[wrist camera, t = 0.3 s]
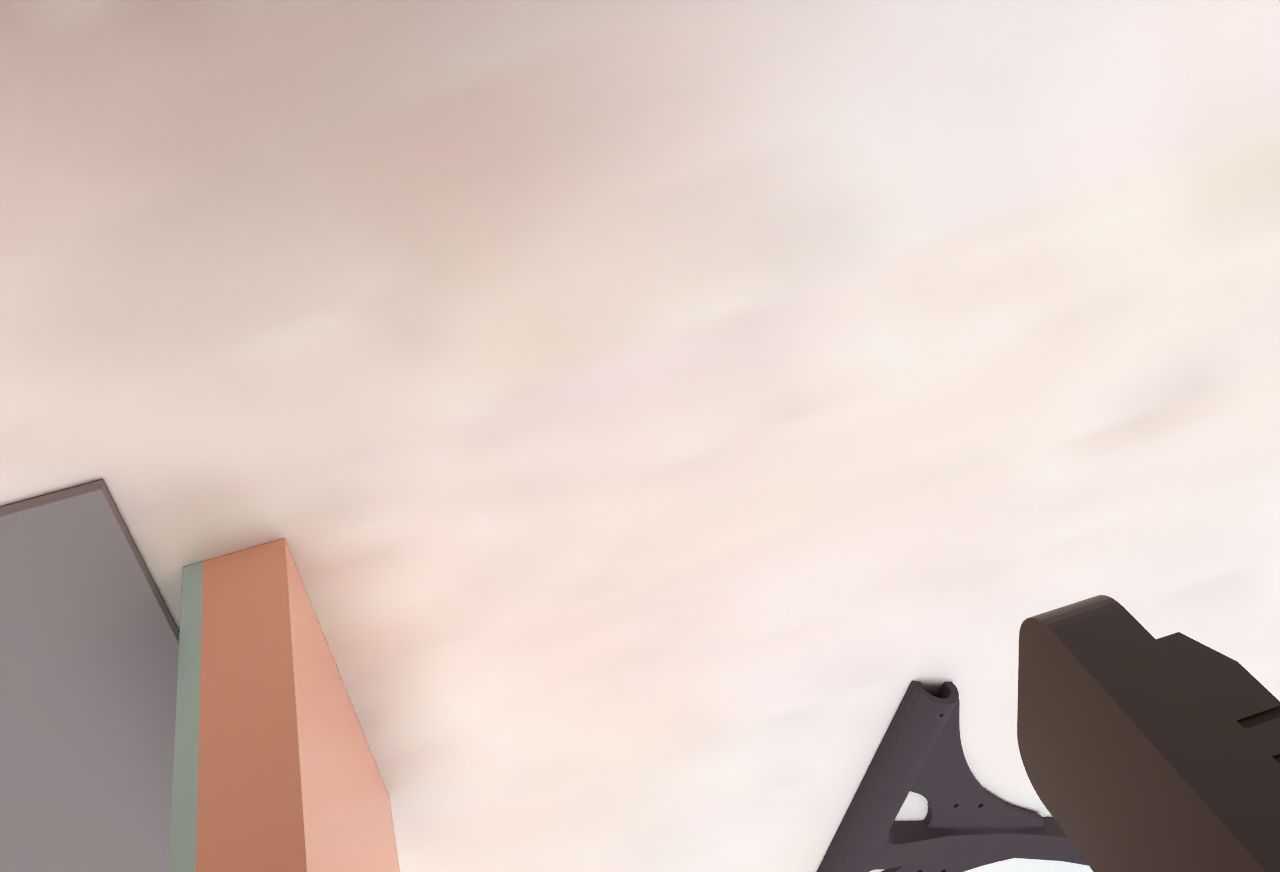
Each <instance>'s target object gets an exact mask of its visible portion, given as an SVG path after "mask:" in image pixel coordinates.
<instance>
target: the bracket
mask: <svg viewBox="0 0 1280 872" xmlns="http://www.w3.org/2000/svg"><path fill="white" fill-rule="evenodd" d="M958 697H959V694H958V690H957V688H956V686H955V685H954V684H953V683H952V682H944V684H943V685H942V687H941V689H940V691H939V693H938V695H937V697H935V696H933V695H931V694H929V693H928V692H927V691H926V690H925V689H924V688H923V687H922V685H921V682H918V681H912V682H911V684H910V686H909V688H908V690H907V692H906V694H905V696H904V698H903V700H902V702H901V704H900V706H899V708H898V710H897V712H896V714H895V716H894V718H893V720H892V722H891V724H890V726H889V728H888V730H887V732H886V734H885V736H884V738H883V740H882V742H881V744H880V746H879V748H878V750H877V752H876V754H875V756H874V758H873V760H872V762H871V764H870V766H869V768H868V770H867V772H866V774H865V776H864V778H863V780H862V782H861V784H860V786H859V788H858V790H857V792H856V795H855V797H854V799H853V801H852V803H851V805H850V807H849V809H848V811H847V813H846V815H845V817H844V819H843V821H842V823H841V825H840V827H839V829H838V831H837V833H836V835H835V837H834V839H833V841H832V843H831V845H830V847H829V849H828V851H827V853H826V855H825V857H824V859H823V861H822V863H821V865H820V867H819V869H818V871H817V872H869V871H871V870H875V869H885V870H884V871H882V872H964V871H967V870H970V869H973V868H976V867H979V866H983V865H986V864H990V863H994V862H998V861H1003V860H1007V859H1012V858H1026V859H1041V860H1056V861H1065V862H1071V863H1077V864H1083V865H1088V863H1087V862H1086V861H1085V859H1084V858H1083V857H1082V855H1081V854H1080V853H1079V851H1078V850H1077V849H1076V847H1075V846H1074V845H1073V843H1072V842H1071V840H1070V839H1069V838H1068V836H1067V835H1066V834H1065V832H1064V831H1063V830H1062V828H1061V827H1060V826H1059V824H1058V823H1057V822H1056V820H1055V819H1054V817H1041V815H1039V814H1036V813H1033V812H1030V811H1027V810H1024V809H1021V808H1018V807H1015V806H1012V805H1010V804H1008V803H1006V802H1004V801H1002V800H1000V799H999V798H997V797H995V796H994V795H992V794H991V793H989V792H988V791H986V790H985V789H984V788H982V787H981V785H980V784H979V783H978V781H977V780H976V779H975V777H974V776H973V774H972V773H971V771H970V769H969V767H968V765H967V762H966V760H965V757H964V754H963V750H962V745H961V740H960V730H959V698H958ZM909 791H912V792H915V793H918V794H920V795H922V796H924V797H925V798H926V799H927V800H928V813H927V816H926V817H925V819H924V820H921V821H894V820H895V818H896V816H897V814H898V812H899V810H900V808H901V806H902V805H903V803H904V801H905V799H906V797H907V795H908V793H909Z"/></svg>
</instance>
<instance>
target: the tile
mask: <svg viewBox="0 0 1280 872" xmlns="http://www.w3.org/2000/svg"><path fill="white" fill-rule="evenodd" d="M169 872H400V868H399V861H398V854H397V847H396V840H395V833H394V826H393V819H392V812H391V805H390V798H389V795H388V792H387V790H386V787H385V785H384V782H383V780H382V777H381V775H380V773H379V770H378V768H377V765H376V763H375V760H374V758H373V755H372V753H371V750H370V748H369V745H368V743H367V740H366V738H365V735H364V733H363V730H362V728H361V725H360V723H359V721H358V718H357V716H356V713H355V711H354V708H353V706H352V703H351V701H350V698H349V696H348V693H347V691H346V688H345V686H344V683H343V681H342V678H341V676H340V673H339V671H338V669H337V666H336V664H335V661H334V659H333V656H332V654H331V651H330V649H329V646H328V644H327V641H326V639H325V636H324V634H323V631H322V629H321V626H320V624H319V621H318V619H317V616H316V614H315V612H314V609H313V607H312V604H311V602H310V599H309V597H308V594H307V592H306V589H305V587H304V584H303V582H302V579H301V577H300V574H299V572H298V569H297V567H296V564H295V562H294V560H293V557H292V555H291V552H290V550H289V547H288V545H287V542H286V540H285V538H283V539H280V540H276V541H273V542H269V543H266V544H262V545H259V546H255V547H252V548H248V549H245V550H241V551H238V552H234V553H231V554H227V555H224V556H220V557H216V558H213V559H209V560H206V561H202V562H199V563H195V564H192V565H188V566H185V567H183V570H182V591H181V613H180V635H179V656H178V678H177V700H176V721H175V743H174V764H173V786H172V808H171V829H170V851H169Z"/></svg>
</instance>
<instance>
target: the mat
mask: <svg viewBox="0 0 1280 872" xmlns="http://www.w3.org/2000/svg"><path fill="white" fill-rule="evenodd" d="M179 635H180V634H179V632H178V630H177V628H176V626H175V623H174V621H173V619H172V617H171V615H170V613H169V611H168V609H167V607H166V605H165V603H164V601H163V599H162V597H161V595H160V593H159V591H158V589H157V587H156V585H155V583H154V581H153V579H152V577H151V575H150V573H149V571H148V569H147V567H146V565H145V563H144V561H143V559H142V557H141V555H140V553H139V551H138V549H137V547H136V545H135V543H134V541H133V539H132V537H131V535H130V533H129V531H128V529H127V527H126V525H125V523H124V521H123V519H122V517H121V515H120V513H119V511H118V509H117V507H116V505H115V503H114V501H113V499H112V497H111V495H110V493H109V491H108V489H107V487H106V485H105V483H104V481H103V480H99V481H95V482H92V483H88V484H84V485H80V486H77V487H73V488H69V489H66V490H62V491H58V492H55V493H51V494H47V495H43V496H40V497H36V498H32V499H29V500H25V501H21V502H18V503H14V504H10V505H7V506H3V507H0V872H169V851H170V829H171V808H172V786H173V764H174V743H175V721H176V700H177V678H178V656H179Z"/></svg>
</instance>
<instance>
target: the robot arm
mask: <svg viewBox="0 0 1280 872" xmlns="http://www.w3.org/2000/svg"><path fill="white" fill-rule="evenodd" d="M1017 737H1018V745H1019V750H1020V754H1021V758H1022V761H1023V764H1024V767H1025V770H1026V772H1027V775H1028V777H1029V779H1030V781H1031V783H1032V785H1033V787H1034V789H1035V791H1036V793H1037V795H1038V796H1039V798H1040V799H1041V801H1042V802H1043V804H1044V805H1045V807H1046V808H1047V809H1048V811H1049V812H1050V813H1051V815H1052V816H1053V817H1054V819H1055V820H1056V822H1057V823H1058V824H1059V826H1060V827H1061V828H1062V830H1063V831H1064V832H1065V834H1066V835H1067V836H1068V838H1069V839H1070V840H1071V842H1072V843H1073V845H1074V846H1075V847H1076V849H1077V850H1078V851H1079V853H1080V854H1081V855H1082V857H1083V858H1084V859H1085V861H1086V862H1087V863H1088V865H1089V866H1090V868H1091V869H1092V870H1093V872H1280V701H1279V700H1277V699H1276V698H1275V697H1274V696H1273V695H1272V694H1271V693H1270V692H1269V691H1268V690H1267V689H1266V688H1265V687H1264V686H1263V685H1262V684H1260V683H1259V682H1258V681H1257V680H1256V679H1255V678H1254V677H1253V676H1252V675H1251V674H1250V673H1249V672H1248V671H1247V670H1246V669H1245V668H1244V667H1242V666H1241V665H1240V664H1239V663H1238V662H1237V661H1235V660H1233V659H1231V658H1229V657H1227V656H1225V655H1223V654H1221V653H1219V652H1217V651H1215V650H1213V649H1211V648H1209V647H1207V646H1205V645H1203V644H1201V643H1199V642H1197V641H1195V640H1193V639H1191V638H1189V637H1187V636H1185V635H1183V634H1181V633H1179V632H1177V633H1174V634H1171V635H1168V636H1165V637H1162V638H1159V639H1155V638H1154V637H1153V636H1152V635H1151V634H1150V633H1149V632H1148V631H1147V630H1146V629H1145V628H1144V627H1143V626H1142V625H1141V624H1140V623H1139V622H1138V621H1137V620H1136V619H1135V618H1134V617H1133V616H1132V615H1131V614H1130V613H1129V612H1128V611H1127V610H1126V609H1125V608H1124V607H1123V606H1122V605H1120V604H1119V603H1118V602H1117V601H1115V600H1114V599H1112V598H1111V597H1108V596H1105V595H1099V596H1095V597H1092V598H1089V599H1086V600H1083V601H1080V602H1077V603H1074V604H1070V605H1067V606H1064V607H1061V608H1058V609H1055V610H1052V611H1049V612H1046V613H1043V614H1039V615H1036V616H1033V617H1030V618H1027V619H1026V620H1024V621H1023V623H1022V625H1021V628H1020V634H1019V670H1018V719H1017Z"/></svg>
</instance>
